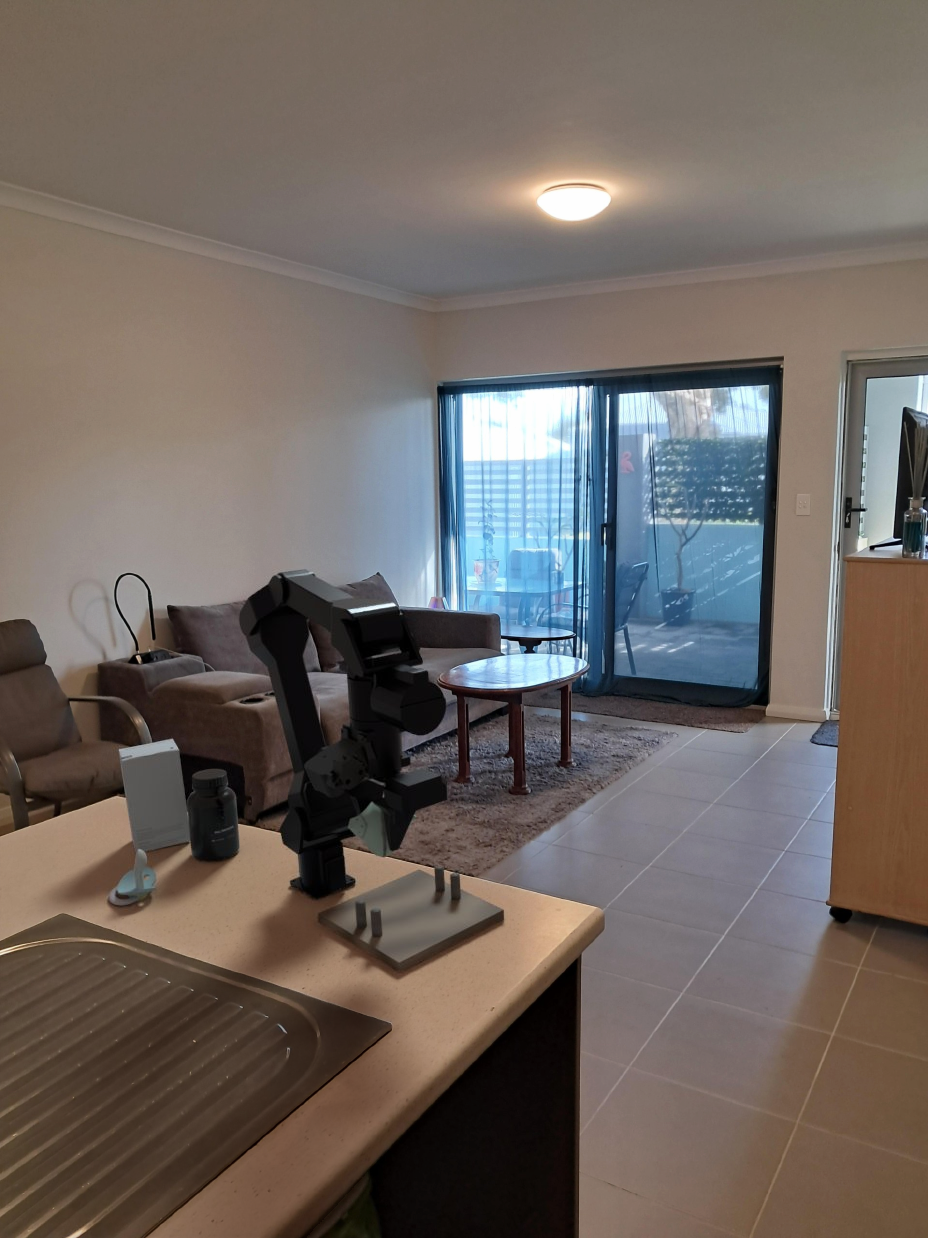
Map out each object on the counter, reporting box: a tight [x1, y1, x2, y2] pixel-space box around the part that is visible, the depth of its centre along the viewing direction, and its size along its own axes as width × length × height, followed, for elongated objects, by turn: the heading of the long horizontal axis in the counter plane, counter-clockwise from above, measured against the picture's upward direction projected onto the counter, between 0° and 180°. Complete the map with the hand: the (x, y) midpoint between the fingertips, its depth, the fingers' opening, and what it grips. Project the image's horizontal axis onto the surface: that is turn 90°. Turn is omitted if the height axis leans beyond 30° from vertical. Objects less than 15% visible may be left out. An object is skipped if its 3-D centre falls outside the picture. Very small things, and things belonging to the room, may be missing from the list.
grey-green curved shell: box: [348, 802, 418, 858], centre depth 108 cm, size 8×4×7 cm, turn 105°
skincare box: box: [118, 738, 190, 854], centre depth 139 cm, size 8×6×15 cm
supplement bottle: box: [186, 768, 241, 863], centre depth 134 cm, size 7×7×12 cm
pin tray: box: [317, 865, 505, 973], centre depth 113 cm, size 16×16×4 cm
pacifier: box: [108, 849, 157, 906], centre depth 123 cm, size 7×6×6 cm
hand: (382, 843), depth 109 cm, fingers closed on grey-green curved shell, 4 cm apart
